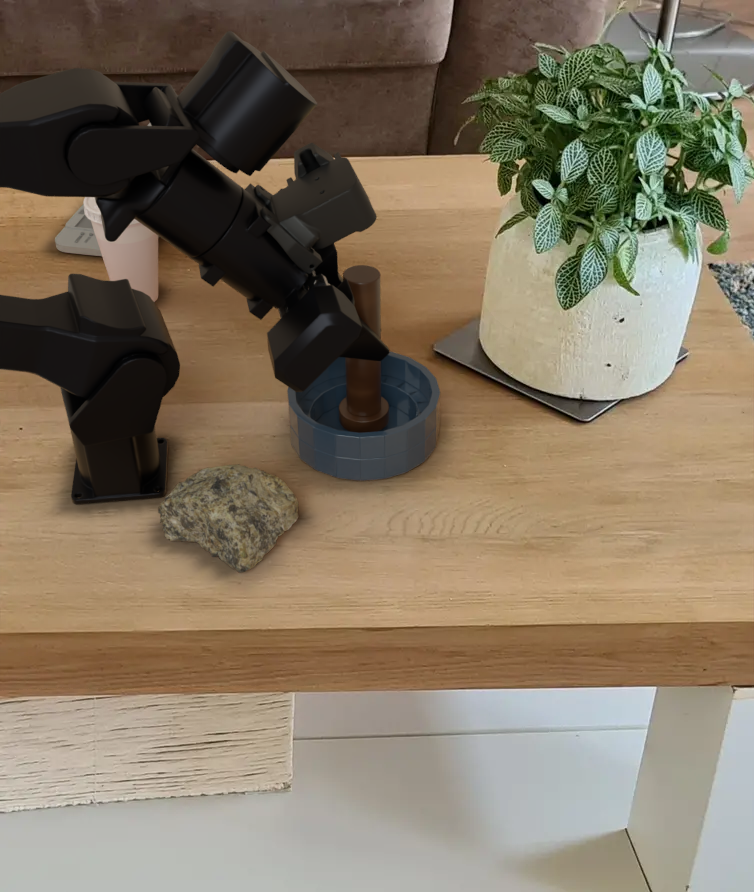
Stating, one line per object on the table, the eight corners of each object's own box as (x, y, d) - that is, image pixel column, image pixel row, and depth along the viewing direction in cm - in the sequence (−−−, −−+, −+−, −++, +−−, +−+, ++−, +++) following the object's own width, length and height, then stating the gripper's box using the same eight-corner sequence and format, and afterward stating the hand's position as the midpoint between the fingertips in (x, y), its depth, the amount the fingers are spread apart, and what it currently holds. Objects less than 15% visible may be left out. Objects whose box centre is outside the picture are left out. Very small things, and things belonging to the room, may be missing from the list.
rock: (227, 481, 85) (221, 431, 82) (312, 522, 82) (310, 472, 79) (157, 536, 80) (149, 485, 77) (245, 582, 77) (240, 531, 74)
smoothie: (182, 281, 107) (163, 136, 98) (161, 318, 102) (140, 169, 93) (113, 276, 107) (88, 131, 98) (90, 313, 102) (61, 163, 93)
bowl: (448, 479, 86) (450, 430, 83) (295, 491, 84) (292, 442, 81) (426, 390, 94) (427, 344, 91) (287, 400, 93) (283, 353, 90)
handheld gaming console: (103, 191, 120) (88, 97, 114) (189, 200, 120) (178, 105, 113) (50, 252, 110) (30, 152, 104) (143, 262, 109) (128, 162, 103)
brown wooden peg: (357, 440, 87) (354, 293, 79) (329, 415, 89) (323, 270, 81) (399, 422, 88) (400, 277, 81) (370, 398, 91) (368, 255, 83)
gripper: (321, 197, 66) (496, 339, 75) (276, 77, 80) (428, 209, 90) (195, 329, 69) (378, 450, 79) (173, 191, 84) (330, 307, 93)
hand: (381, 344), depth 85 cm, fingers closed on brown wooden peg, 2 cm apart
